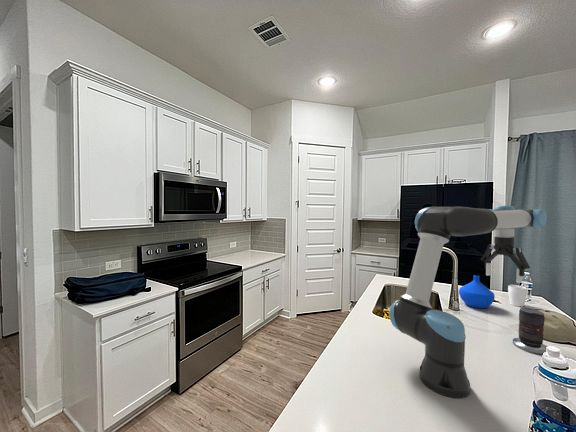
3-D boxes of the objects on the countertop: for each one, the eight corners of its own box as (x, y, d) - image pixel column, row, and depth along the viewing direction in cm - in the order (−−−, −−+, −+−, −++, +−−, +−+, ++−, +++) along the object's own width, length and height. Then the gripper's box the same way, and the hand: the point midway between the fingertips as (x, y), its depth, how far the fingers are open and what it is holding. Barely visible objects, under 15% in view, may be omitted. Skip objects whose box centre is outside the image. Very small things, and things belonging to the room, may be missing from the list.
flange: (539, 357, 103) (539, 353, 103) (506, 342, 114) (506, 339, 114) (557, 352, 106) (557, 349, 106) (523, 338, 118) (523, 335, 118)
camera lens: (548, 350, 105) (550, 315, 105) (526, 348, 107) (527, 313, 107) (534, 340, 113) (535, 308, 113) (513, 338, 115) (514, 306, 115)
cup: (530, 307, 156) (531, 288, 156) (516, 307, 156) (516, 288, 156) (517, 302, 165) (518, 284, 165) (504, 302, 165) (504, 284, 165)
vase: (462, 298, 172) (463, 271, 172) (496, 306, 159) (497, 276, 158) (455, 305, 160) (455, 275, 159) (491, 313, 146) (492, 281, 146)
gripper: (540, 239, 113) (539, 285, 113) (483, 234, 137) (482, 272, 137) (529, 239, 111) (528, 286, 111) (473, 234, 135) (472, 273, 135)
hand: (503, 278), depth 124 cm, fingers open, 13 cm apart
